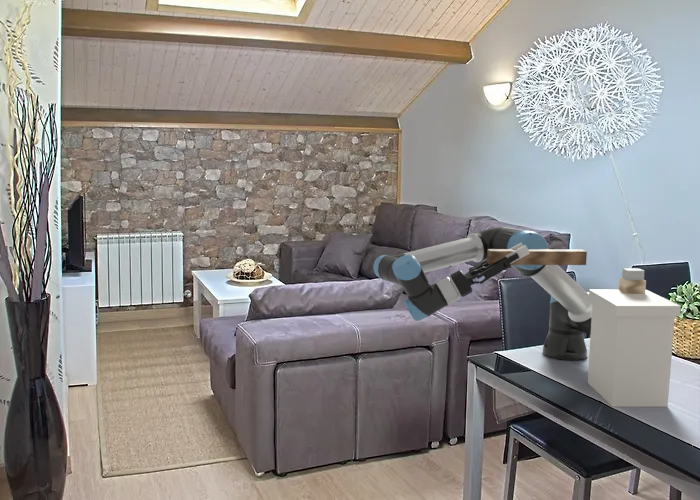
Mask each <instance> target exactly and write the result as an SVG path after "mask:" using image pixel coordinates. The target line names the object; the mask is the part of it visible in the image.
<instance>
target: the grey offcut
mask: <svg viewBox="0 0 700 500" xmlns="http://www.w3.org/2000/svg"><path fill="white" fill-rule="evenodd" d="M621 273H622V274H621V278H623V279H626V280H645V270H644V269H641V268H639V267H638V268H634V267H630V268H628V267H627V268H625V267H624V268H622V272H621Z"/></svg>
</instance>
